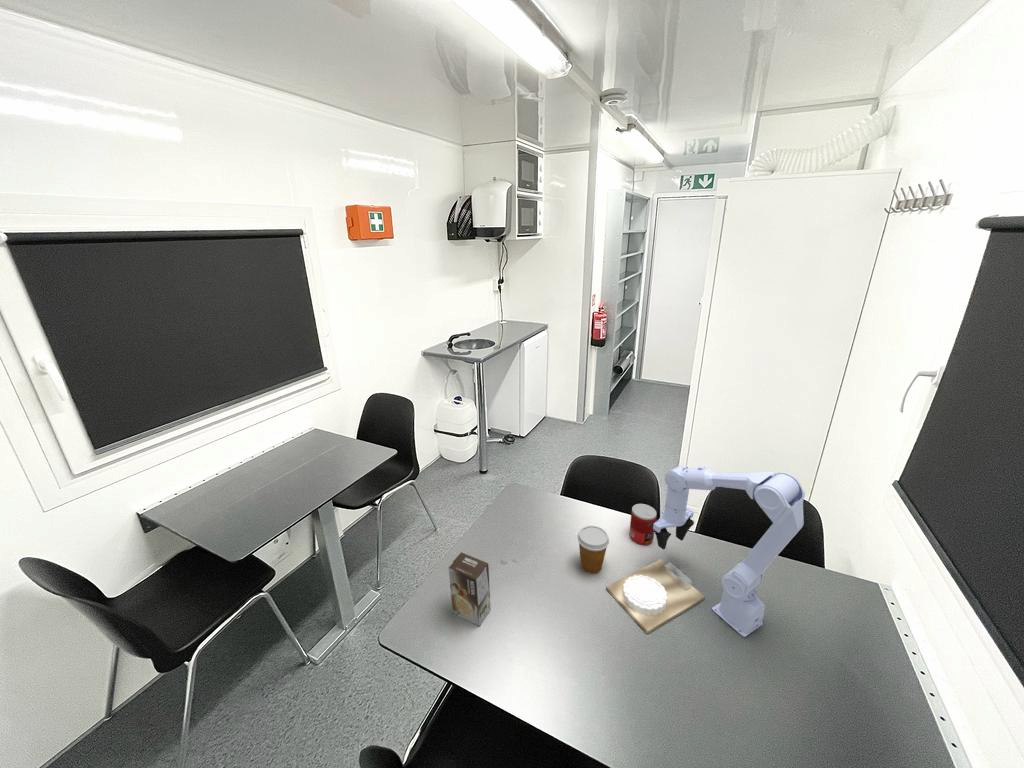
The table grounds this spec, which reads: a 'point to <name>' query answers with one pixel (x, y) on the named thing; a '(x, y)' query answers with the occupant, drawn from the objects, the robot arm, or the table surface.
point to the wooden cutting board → (675, 586)
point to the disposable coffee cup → (592, 548)
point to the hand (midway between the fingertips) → (670, 542)
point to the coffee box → (470, 588)
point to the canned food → (642, 524)
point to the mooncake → (645, 595)
